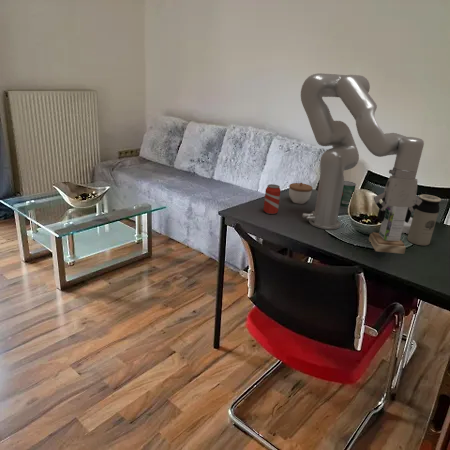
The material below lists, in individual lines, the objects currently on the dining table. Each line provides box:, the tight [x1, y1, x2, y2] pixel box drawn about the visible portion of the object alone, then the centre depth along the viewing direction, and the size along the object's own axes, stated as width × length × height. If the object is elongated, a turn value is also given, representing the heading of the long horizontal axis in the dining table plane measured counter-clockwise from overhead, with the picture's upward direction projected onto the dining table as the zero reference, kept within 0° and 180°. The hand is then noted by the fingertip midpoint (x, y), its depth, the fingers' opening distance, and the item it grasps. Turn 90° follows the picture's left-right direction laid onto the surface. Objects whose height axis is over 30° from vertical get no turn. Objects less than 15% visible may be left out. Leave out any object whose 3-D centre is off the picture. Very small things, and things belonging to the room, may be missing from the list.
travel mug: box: [406, 194, 442, 246], centre depth 150 cm, size 8×8×18 cm
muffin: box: [402, 216, 413, 235], centre depth 161 cm, size 6×6×7 cm
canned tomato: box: [340, 180, 357, 209], centre depth 188 cm, size 8×8×11 cm
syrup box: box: [378, 206, 408, 241], centre depth 143 cm, size 6×6×14 cm
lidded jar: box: [288, 182, 313, 205], centre depth 189 cm, size 11×11×9 cm
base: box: [368, 231, 407, 255], centre depth 147 cm, size 10×10×4 cm
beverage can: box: [263, 183, 282, 215], centre depth 171 cm, size 6×6×12 cm
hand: (393, 220), depth 143 cm, fingers open, 8 cm apart
